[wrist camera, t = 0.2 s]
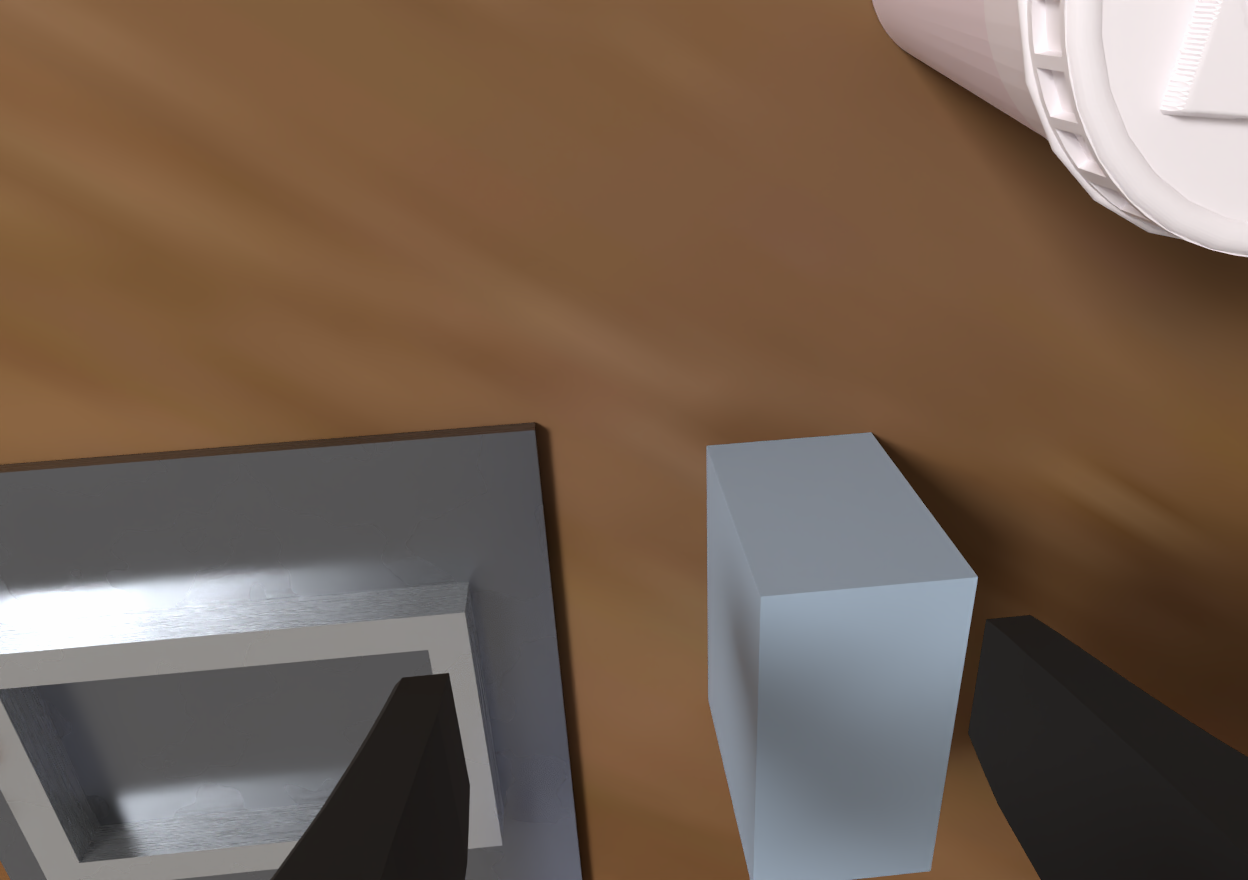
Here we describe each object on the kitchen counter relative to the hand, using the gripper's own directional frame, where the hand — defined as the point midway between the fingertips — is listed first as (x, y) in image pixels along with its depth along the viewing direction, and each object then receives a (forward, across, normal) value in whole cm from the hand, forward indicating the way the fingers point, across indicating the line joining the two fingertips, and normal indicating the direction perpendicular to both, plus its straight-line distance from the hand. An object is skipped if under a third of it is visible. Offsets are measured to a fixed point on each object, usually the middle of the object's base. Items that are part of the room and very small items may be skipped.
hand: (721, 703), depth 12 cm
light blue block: (+10, -3, +5) cm, 12 cm away
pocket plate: (+10, +11, +8) cm, 16 cm away
